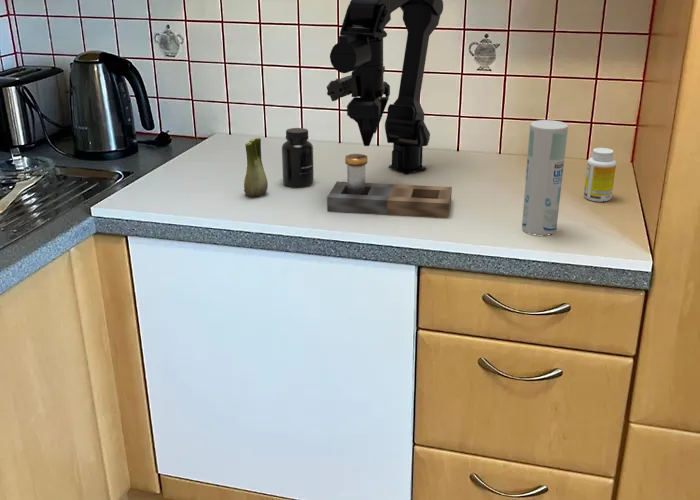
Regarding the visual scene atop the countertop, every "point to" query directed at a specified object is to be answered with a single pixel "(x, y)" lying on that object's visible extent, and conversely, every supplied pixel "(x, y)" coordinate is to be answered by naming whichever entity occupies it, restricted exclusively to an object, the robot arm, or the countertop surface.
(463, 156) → the countertop surface
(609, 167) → the supplement bottle
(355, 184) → the lock pin
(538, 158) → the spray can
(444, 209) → the pin dock plate
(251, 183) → the fennel bulb
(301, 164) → the supplement bottle
